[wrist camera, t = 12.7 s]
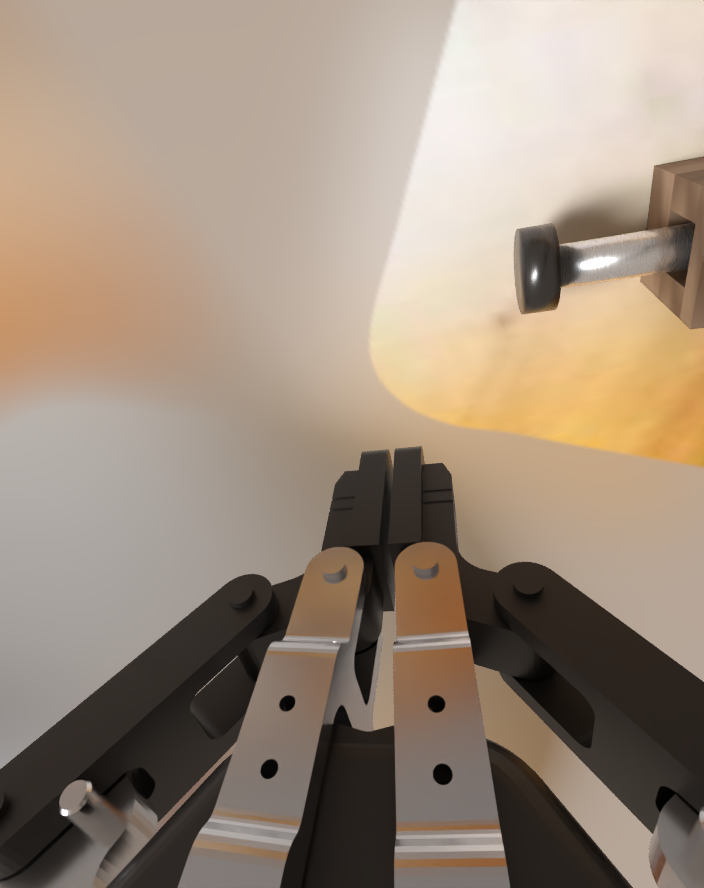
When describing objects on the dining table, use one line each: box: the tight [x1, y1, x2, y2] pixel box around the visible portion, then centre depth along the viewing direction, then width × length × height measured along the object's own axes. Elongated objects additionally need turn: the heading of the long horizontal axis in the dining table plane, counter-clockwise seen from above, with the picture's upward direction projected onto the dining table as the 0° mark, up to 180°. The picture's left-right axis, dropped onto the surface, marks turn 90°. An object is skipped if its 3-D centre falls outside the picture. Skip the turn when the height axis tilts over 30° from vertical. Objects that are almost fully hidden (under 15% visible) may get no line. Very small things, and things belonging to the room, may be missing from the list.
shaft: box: [514, 223, 695, 314], centre depth 24 cm, size 4×10×4 cm, turn 101°
